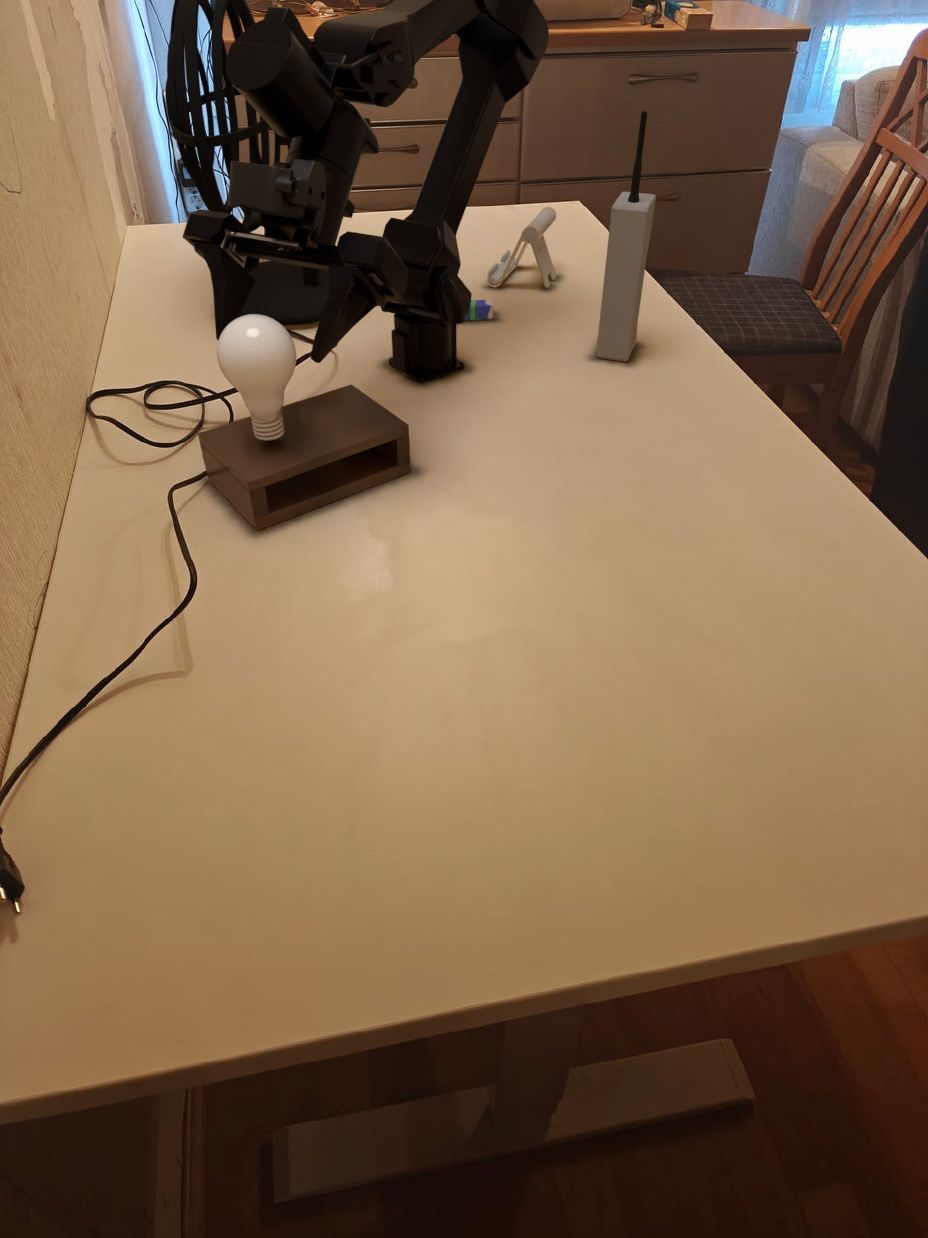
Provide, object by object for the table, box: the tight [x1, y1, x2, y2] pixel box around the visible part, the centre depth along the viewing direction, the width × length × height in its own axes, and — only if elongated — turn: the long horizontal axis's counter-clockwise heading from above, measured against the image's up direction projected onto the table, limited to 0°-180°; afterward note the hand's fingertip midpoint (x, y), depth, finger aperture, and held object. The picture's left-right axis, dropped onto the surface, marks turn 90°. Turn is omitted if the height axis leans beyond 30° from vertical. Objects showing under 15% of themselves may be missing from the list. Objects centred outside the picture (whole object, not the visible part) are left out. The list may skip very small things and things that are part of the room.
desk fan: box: [165, 0, 329, 326], centre depth 102 cm, size 27×18×35 cm, turn 0°
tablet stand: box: [486, 206, 557, 289], centre depth 116 cm, size 9×8×8 cm
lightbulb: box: [216, 314, 297, 442], centre depth 73 cm, size 6×6×11 cm
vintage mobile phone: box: [595, 110, 657, 363], centre depth 93 cm, size 4×5×25 cm
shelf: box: [197, 384, 412, 532], centre depth 80 cm, size 16×10×5 cm, turn 127°
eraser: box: [465, 298, 495, 321], centre depth 108 cm, size 2×6×2 cm, turn 98°
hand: (267, 351), depth 73 cm, fingers open, 9 cm apart
